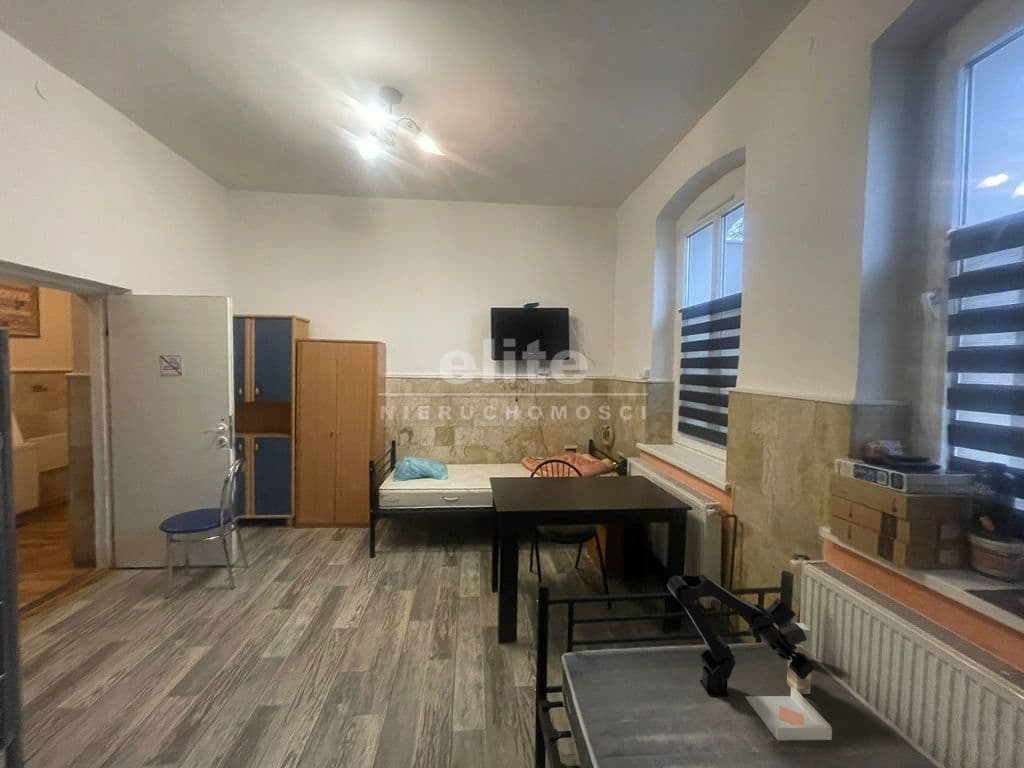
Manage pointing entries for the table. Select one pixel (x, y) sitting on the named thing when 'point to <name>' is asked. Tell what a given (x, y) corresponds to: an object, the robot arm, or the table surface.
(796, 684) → the birch block
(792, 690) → the tray
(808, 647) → the skincare box
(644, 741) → the table surface
